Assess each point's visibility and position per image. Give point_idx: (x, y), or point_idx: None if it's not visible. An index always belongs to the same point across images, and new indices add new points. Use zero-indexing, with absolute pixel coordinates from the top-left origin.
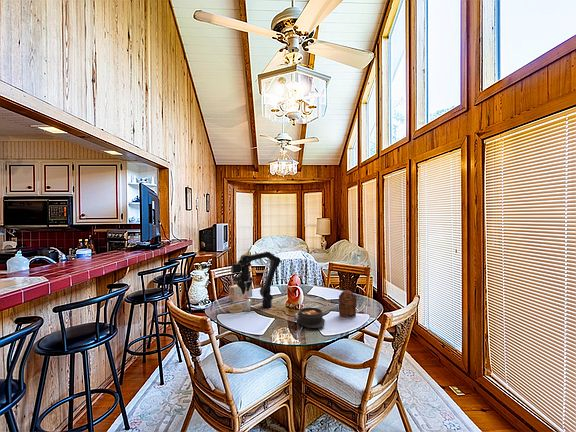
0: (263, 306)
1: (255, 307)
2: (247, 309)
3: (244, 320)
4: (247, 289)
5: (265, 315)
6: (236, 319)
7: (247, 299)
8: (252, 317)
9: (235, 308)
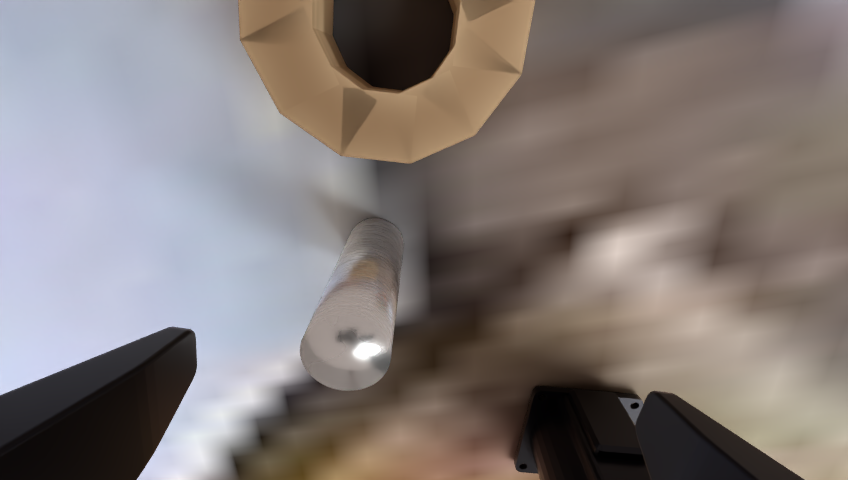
0: (556, 399)
1: (554, 302)
2: (344, 247)
3: (15, 262)
4: (683, 456)
5: (255, 446)
6: (4, 146)
7: (327, 337)
8: (152, 332)
9: (248, 50)
